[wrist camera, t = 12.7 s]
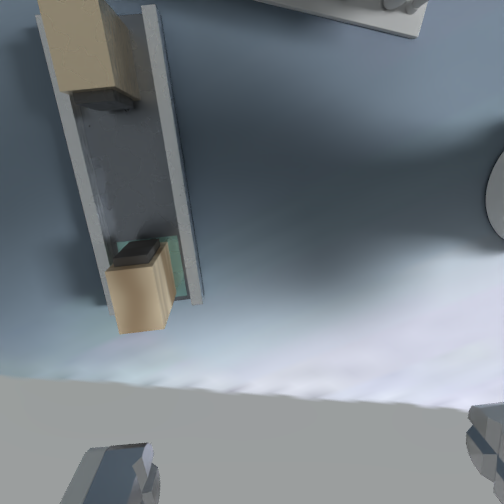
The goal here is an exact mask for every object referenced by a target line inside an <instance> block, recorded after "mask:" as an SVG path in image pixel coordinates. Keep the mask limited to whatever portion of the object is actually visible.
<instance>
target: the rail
mask: <svg viewBox="0 0 504 504" xmlns="http://www.w3.org/2000/svg"><path fill="white" fill-rule="evenodd" d="M37 1H38V5H39V9H40V13H41V15H35V17H36V21H37V25H38V29H39V33H40V37H41V41H42V45H43V49H44V53H45V57H46V61H47V65H48V69H49V73H50V77H51V81H52V85H53V89H54V93H55V97H56V101H57V105H58V109H59V113H60V117H61V121H62V125H63V129H64V133H65V137H66V141H67V145H68V149H69V153H70V157H71V161H72V165H73V169H74V173H75V177H76V181H77V185H78V189H79V193H80V197H81V201H82V205H83V209H84V213H85V217H86V221H87V225H88V229H89V233H90V237H91V242H92V246H93V250H94V254H95V258H96V262H97V266H98V270H99V274H100V278H101V282H102V286H103V290H104V294H105V298H106V302H107V306H108V310H109V314H110V315H115V313H114V309H113V304H112V300H111V296H110V292H109V288H108V283H107V279H106V275H105V271H106V270H107V269H108V268H109V267H110V266H111V265H112V264H113V258H114V257H115V256H116V255H117V254H118V253H119V252H120V251H121V250H122V249H123V248H124V247H125V246H126V245H127V244H128V243H129V242H131V241H140V240H149V239H158V238H159V241H160V242H168V247H169V253H170V259H171V264H172V270H173V276H174V281H175V287H176V296H175V299H174V301H177V300H185V299H191V304H192V305H199V304H203V299H204V288H203V282H202V275H201V269H200V262H199V256H198V249H197V243H196V237H195V230H194V224H193V217H192V211H191V204H190V198H189V192H188V185H187V179H186V172H185V166H184V159H183V153H182V147H181V140H180V134H179V127H178V121H177V114H176V108H175V102H174V95H173V89H172V82H171V76H170V69H169V63H168V57H167V50H166V44H165V37H164V31H163V24H162V18H161V15H160V13H159V11H158V9H157V7H156V5H155V4H153V5H142V6H141V8H142V14H133V15H122V16H117V14H116V13H115V12H114V11H113V10H112V8H111V7H110V6H109V5H108V4H107V2H106V1H105V0H37Z"/></svg>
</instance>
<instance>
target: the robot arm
mask: <svg viewBox="0 0 504 504" xmlns="http://www.w3.org/2000/svg"><path fill="white" fill-rule="evenodd" d="M486 209H487V214H488V218H489V221H490V223H491V225H492V227H493V228H494V230H495V231H496V232H497V234H498V235H499V236H500V237H501V238H503V239H504V152H503V153H502V154H501V156H500V157H499V159H498V160H497V162H496V164H495V166H494V168H493V170H492V173H491V175H490V178H489V181H488V185H487V191H486ZM468 419H469V420H470V421H471V423H472V424H473V425H472V427H471V428H470V429H469V430H468V431H467V432H466V445H467V449H468V452H469V456H470V458H471V460H472V462H473V464H474V465H475V467H476V468H477V470H478V471H479V472H480V474H481V475H483V476H484V477H486V478H487V479H489V480H491V481H492V482H494V493H495V495H496V496H497V498H498V499H499V501H500V502H501V503H502V504H504V402H499V403H491V404H483V405H475V406H472V407H471V408H470V410H469V414H468ZM153 456H154V451H153V449H152V445H151V444H150V443H139V444H128V445H116V446H109V447H97V448H90V449H89V450H88V451H87V452H86V453H85V454H84V456H83V458H82V460H81V462H80V464H79V466H78V468H77V470H76V472H75V474H74V476H73V478H72V480H71V482H70V484H69V486H68V488H67V491H66V492H65V494H64V496H63V498H62V500H61V502H60V504H158V502H159V496H160V475H159V471H158V467H157V466H156V465H154V464H153V463H152V460H153Z"/></svg>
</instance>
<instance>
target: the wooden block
mask: <svg viewBox="0 0 504 504" xmlns="http://www.w3.org/2000/svg"><path fill="white" fill-rule="evenodd" d="M105 275H106V279H107V283H108V288H109V292H110V296H111V300H112V304H113V309H114V313H115V317H116V321H117V325H118V329H119V334H127V333H135V332H143V331H152V330H160V329H165V326H166V323H167V320H168V317H169V314H170V311H171V308H172V305H173V302H174V299H175V296H176V287H175V281H174V276H173V270H172V264H171V259H170V253H169V247H168V242H160V241H159V238H158V239H149V240H140V241H131V242H129V243H128V244H127V245H126V246H125V247H124V248H123V249H122V250H121V251H120V252H119V253H118V254H117V255H116V256H115V257H114V258H113V264H112V265H111V266H110V267H109V268H108V269H107V270H106V271H105Z"/></svg>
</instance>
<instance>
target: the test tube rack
mask: <svg viewBox="0 0 504 504" xmlns="http://www.w3.org/2000/svg"><path fill="white" fill-rule="evenodd" d="M254 1H258V2H262V3H266V4H270V5H274V6H279V7H283V8H287V9H291V10H295V11H299V12H304V13H308V14H312V15H316V16H320V17H324V18H328V19H333V20H337V21H341V22H345V23H349V24H353V25H357V26H362V27H366V28H370V29H374V30H378V31H382V32H386V33H391V34H395V35H399V36H403V37H407V38H411V39H415V38H417V37H418V35H419V31H420V28H421V24H422V21H423V17H424V13H425V10H426V6H427V3H428V1H429V0H254Z"/></svg>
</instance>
